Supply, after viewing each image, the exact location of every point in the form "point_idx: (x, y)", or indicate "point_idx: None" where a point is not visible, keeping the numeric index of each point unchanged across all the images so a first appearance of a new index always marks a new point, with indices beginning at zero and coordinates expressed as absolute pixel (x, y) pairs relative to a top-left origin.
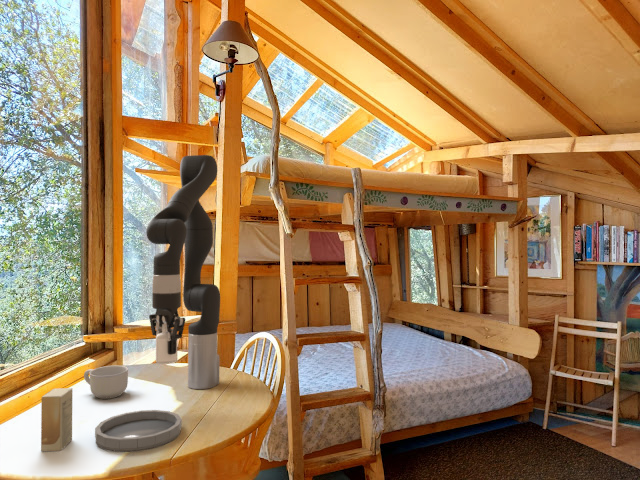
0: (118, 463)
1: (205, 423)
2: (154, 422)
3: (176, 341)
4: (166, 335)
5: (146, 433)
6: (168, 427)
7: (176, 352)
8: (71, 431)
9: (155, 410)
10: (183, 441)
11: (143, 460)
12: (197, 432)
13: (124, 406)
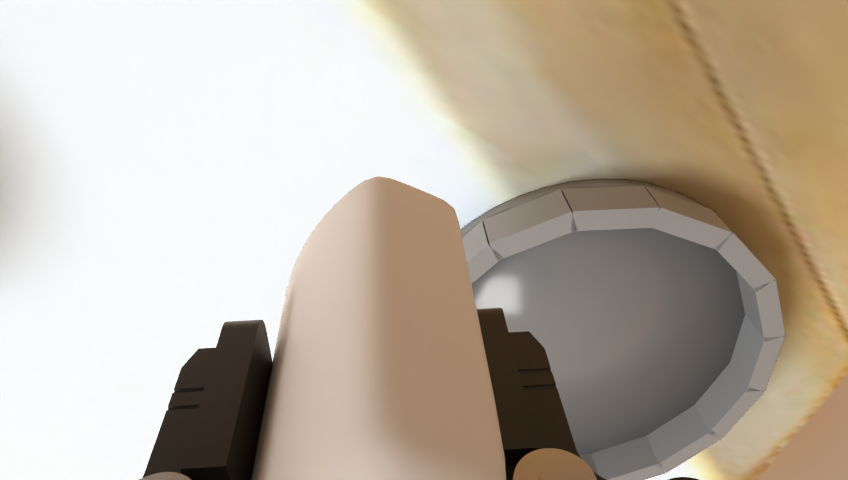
0: (716, 461)
1: (756, 58)
2: (537, 258)
3: (493, 396)
4: None
5: (622, 338)
6: (654, 249)
7: (468, 278)
8: None
9: (492, 250)
10: (803, 260)
11: (776, 414)
12: (798, 164)
13: (99, 207)
